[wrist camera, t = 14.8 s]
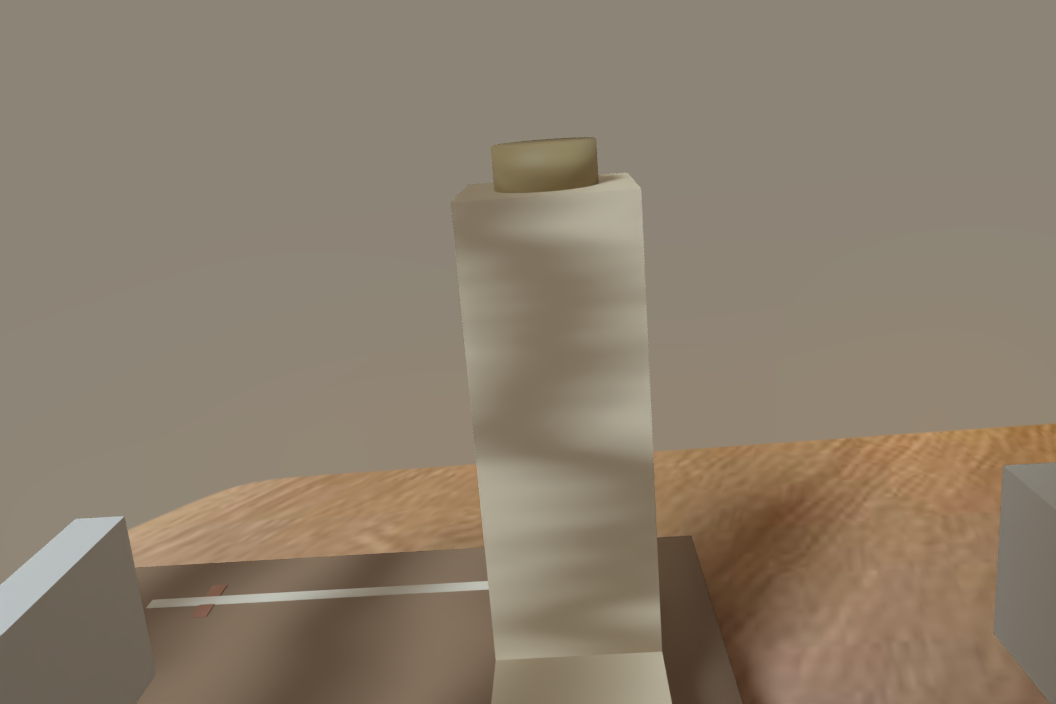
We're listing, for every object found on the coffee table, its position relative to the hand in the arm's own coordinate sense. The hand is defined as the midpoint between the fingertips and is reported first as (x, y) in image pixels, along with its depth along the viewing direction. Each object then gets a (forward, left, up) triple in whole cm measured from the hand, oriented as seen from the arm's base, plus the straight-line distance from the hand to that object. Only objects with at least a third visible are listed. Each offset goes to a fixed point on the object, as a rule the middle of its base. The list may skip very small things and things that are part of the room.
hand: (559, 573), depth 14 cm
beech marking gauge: (0, -9, -8) cm, 12 cm away
